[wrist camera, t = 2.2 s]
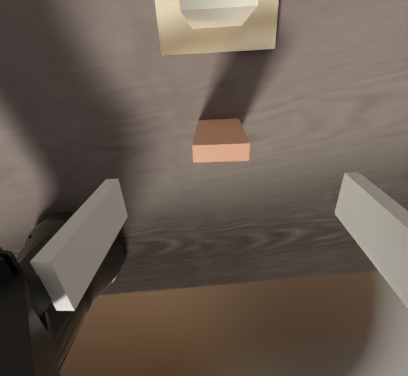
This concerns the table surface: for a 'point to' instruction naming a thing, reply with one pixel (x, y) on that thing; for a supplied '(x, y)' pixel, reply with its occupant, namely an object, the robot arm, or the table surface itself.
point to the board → (215, 31)
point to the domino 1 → (216, 12)
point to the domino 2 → (220, 141)
